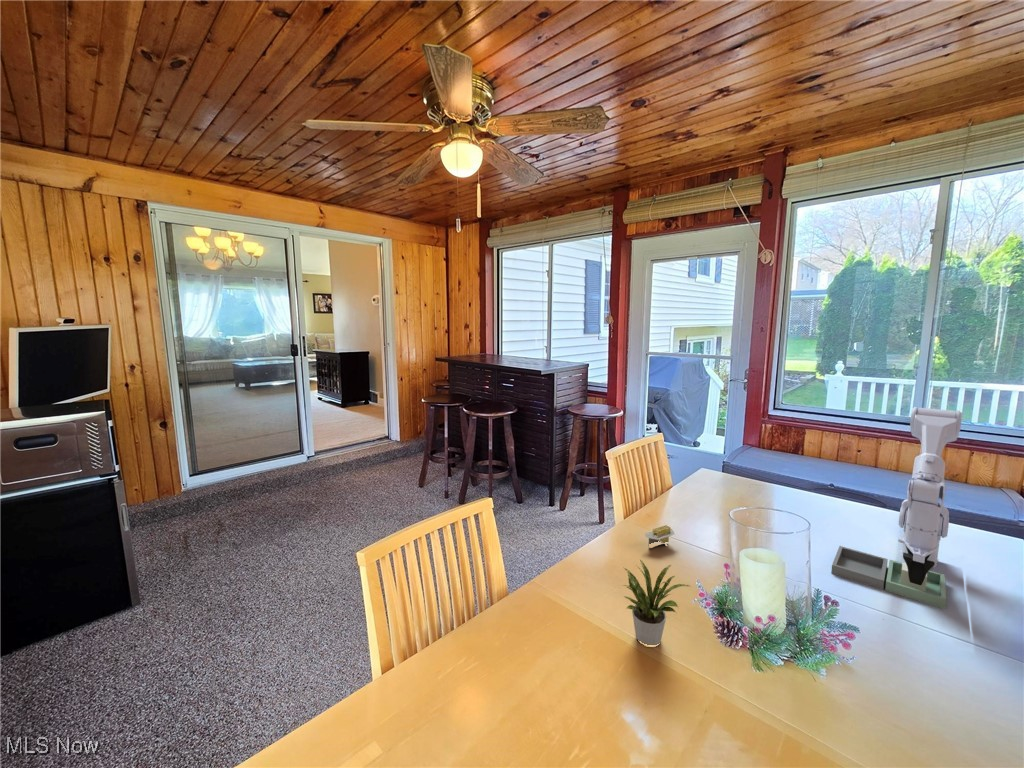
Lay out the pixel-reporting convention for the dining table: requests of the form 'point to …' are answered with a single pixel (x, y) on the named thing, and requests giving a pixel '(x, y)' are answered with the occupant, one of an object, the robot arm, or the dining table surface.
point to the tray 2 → (931, 595)
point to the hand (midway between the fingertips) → (915, 577)
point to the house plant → (650, 606)
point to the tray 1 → (860, 567)
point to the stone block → (906, 581)
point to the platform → (660, 534)
